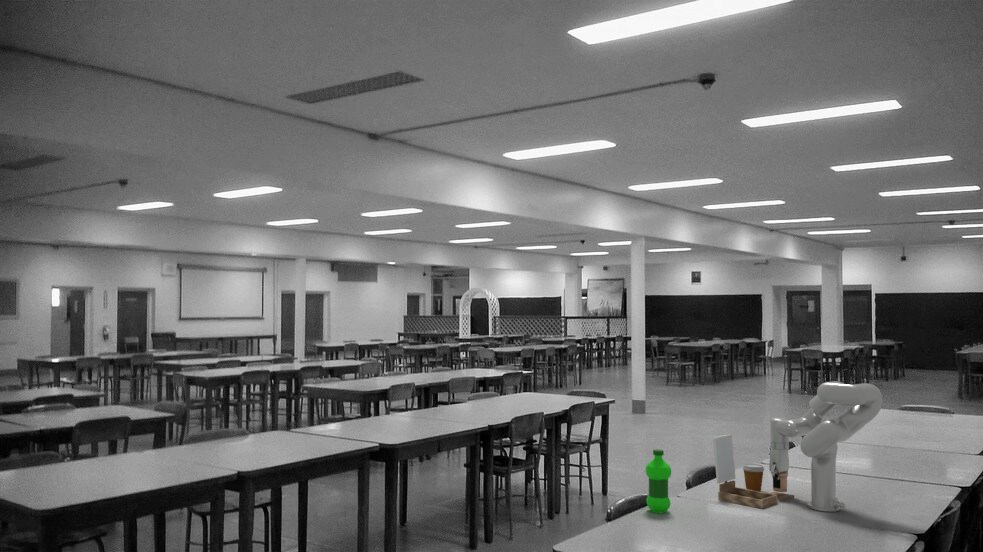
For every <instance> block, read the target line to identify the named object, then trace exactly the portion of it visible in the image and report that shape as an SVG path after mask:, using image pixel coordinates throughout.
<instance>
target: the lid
mask: <svg viewBox="0 0 983 552" xmlns="http://www.w3.org/2000/svg"><path fill="white" fill-rule="evenodd" d="M712 440H713V441H712V442H713V451H714V452H713V453H714V463H715V464H714V465H715V475H716V477H715V478H716V484H723V483H724V482H726V481H727V482H730V481H733V480H735V479H736V470H735V457H734V447H733V435H732V434H731V433H728V434H724V435H718V436H715V437H713V438H712Z"/></svg>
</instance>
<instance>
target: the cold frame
mask: <svg viewBox="0 0 983 552" xmlns="http://www.w3.org/2000/svg"><path fill="white" fill-rule="evenodd" d="M717 494H718V496H717V498H718V501H722V502H728V503H732V504H736V505H740V506H744V507H745V506H746V507H751V508H756V509H761V510H763V509H766V508H768V507H771V506H773V505H777V504H778V499H777V495H774V494H770V492H764V491H763V492H762V491H761V492H758V491H753V490H748V489H746V488H741V487H737V486H736V480H729V481H726V482H722V483H719V491H718V492H717Z"/></svg>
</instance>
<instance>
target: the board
mask: <svg viewBox="0 0 983 552" xmlns="http://www.w3.org/2000/svg"><path fill="white" fill-rule="evenodd" d="M769 494H774V495H777V501H784V502H785V501H790V500H791V499H793V500H795V499H794V498H795V495H794V494H789V493H786V492H777V491H773V492H769Z"/></svg>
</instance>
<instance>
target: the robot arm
mask: <svg viewBox="0 0 983 552" xmlns="http://www.w3.org/2000/svg"><path fill="white" fill-rule="evenodd" d="M808 405H809V409H808V411H807V412H806V413H805V414H804V415H803V416H801V417H799V418H793V419H787V418H785V417H778V416H777V417H772V418H771V419H770V453H769V468H768V469H769V471H770V473H771V477H772V489H773V488H778V489H780V479H779V478H780V473H781V472H788V473H789V467H790V459H789V458H790V457H789V449H790V445H789V444H790V443H789V439H790V438H798V437H802V439H801V441H800V443H799V444H800V446H799V447H800V450H801V452H802V453H803V455H804V456H805V457H808V458H811V460H810V461H811V463H810V480H811V481H810V483H811V484H810V485H811V490H810V491H811V492H810V493H811V500H810V501H809V502H807V507H808V508H809V509H811V510H814V511H818V512H819V511H820V512H831V513H833V512H838V511H840V510H841V509H846V507H847V504H846V503H845V502H843V501H839V497H837V481H836V480H837V478H836V477H837V476H836V475H837V474H836V473H837V472H836V471H837V470H836V469H837V468H836V467H837V466H836V465H837V453H838V443H841V442H845V441H847V440H849V439H851V437H853V436H854V435H855V434H856V433H857V432H859V431H861V430H862V429H863V428H864V427H865V426H866V425H868V424H869V423H870V422H871V421H872V420H874V419H875V417H877V415H878V414H879V412H880V410H881V409H882V405H883V395H882V393H881V390H880V389H879V388H878V387H877V386H876V385H874V384H872V383H856V384H850V383H849V384H848V383H847V384H846V383H844V382H841V381H839V380H838V381H834V380H833V381H826V382H823V383H821V384H820V385H818V387H817V390H816V395H815V396H814V397H813V398H812V399H811V400H809V403H808ZM839 405H842V406H850V408H849V409H847V410H846V411H845V412H843V414H841V415H840V416H838V417H835V418H831V419H826V420H825V418H826V416H827V415H828V414H830V413H832V411H833V410H834V409H835V408H836V407H838V406H839ZM851 406H852V407H851ZM775 471H778V472H775ZM776 473H778V476H777V474H776Z"/></svg>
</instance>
